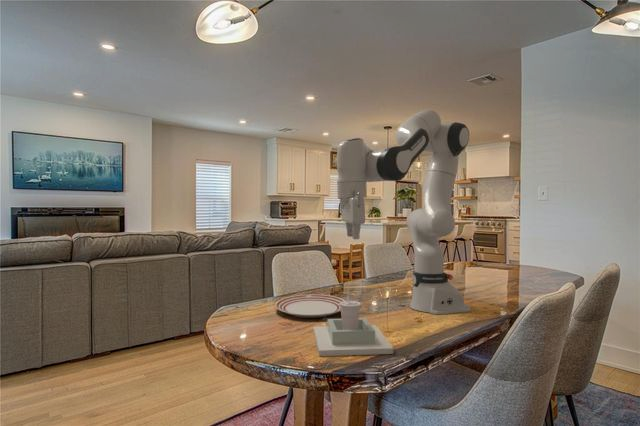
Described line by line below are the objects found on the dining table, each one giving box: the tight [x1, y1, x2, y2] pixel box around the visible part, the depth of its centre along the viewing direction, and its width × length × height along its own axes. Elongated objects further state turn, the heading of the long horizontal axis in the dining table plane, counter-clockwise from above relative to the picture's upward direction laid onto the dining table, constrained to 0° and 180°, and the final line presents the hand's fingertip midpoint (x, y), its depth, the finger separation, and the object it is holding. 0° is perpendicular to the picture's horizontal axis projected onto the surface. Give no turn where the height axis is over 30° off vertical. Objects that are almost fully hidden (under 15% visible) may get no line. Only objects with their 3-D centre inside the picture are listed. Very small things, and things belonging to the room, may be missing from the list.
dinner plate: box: [274, 293, 346, 319], centre depth 143 cm, size 28×27×3 cm
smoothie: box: [339, 287, 362, 330], centre depth 109 cm, size 6×6×14 cm
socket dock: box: [312, 317, 394, 357], centre depth 109 cm, size 20×20×5 cm
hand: (353, 237), depth 114 cm, fingers open, 8 cm apart
